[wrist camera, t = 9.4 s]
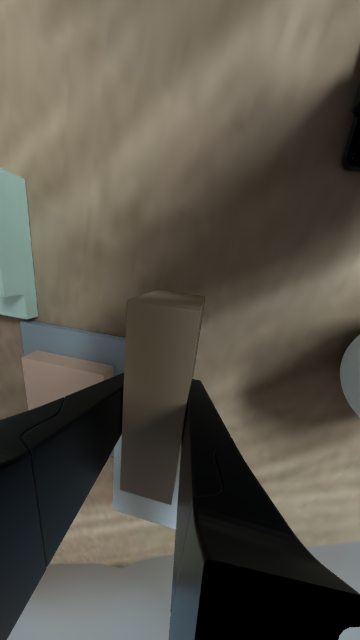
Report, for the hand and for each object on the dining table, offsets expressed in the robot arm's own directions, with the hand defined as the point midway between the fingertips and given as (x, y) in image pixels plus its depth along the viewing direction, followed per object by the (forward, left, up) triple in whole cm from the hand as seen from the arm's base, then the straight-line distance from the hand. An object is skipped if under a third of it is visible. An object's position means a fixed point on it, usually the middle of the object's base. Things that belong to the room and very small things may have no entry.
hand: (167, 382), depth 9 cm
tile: (+9, +3, -4) cm, 10 cm away
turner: (0, +3, -1) cm, 4 cm away
